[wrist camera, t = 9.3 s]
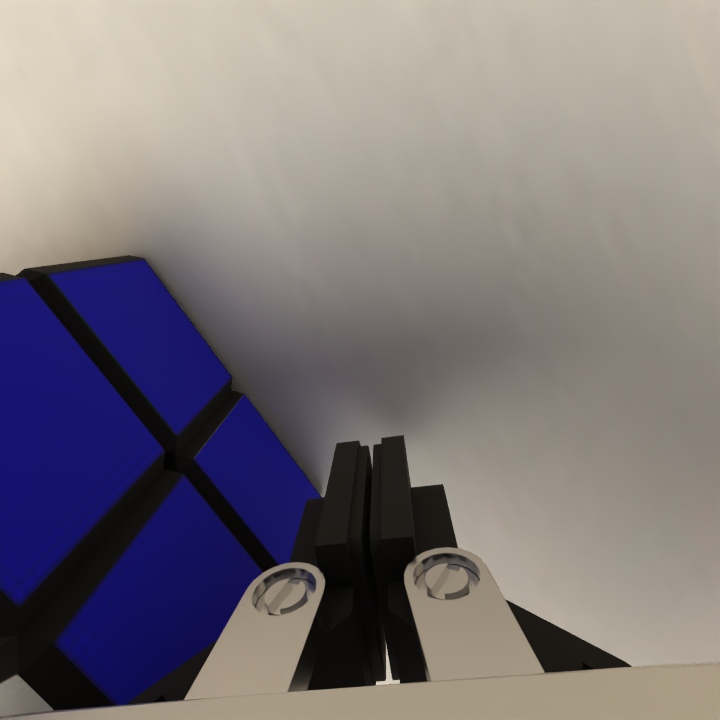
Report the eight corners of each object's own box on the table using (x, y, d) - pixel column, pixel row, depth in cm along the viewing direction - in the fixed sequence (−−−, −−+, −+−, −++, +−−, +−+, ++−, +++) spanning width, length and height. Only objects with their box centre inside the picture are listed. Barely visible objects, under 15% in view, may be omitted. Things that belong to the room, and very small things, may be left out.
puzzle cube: (328, 499, 16) (259, 885, 7) (110, 620, 18) (-185, 1061, 9) (142, 247, 14) (-335, 299, 5) (-83, 413, 16) (-762, 693, 7)
